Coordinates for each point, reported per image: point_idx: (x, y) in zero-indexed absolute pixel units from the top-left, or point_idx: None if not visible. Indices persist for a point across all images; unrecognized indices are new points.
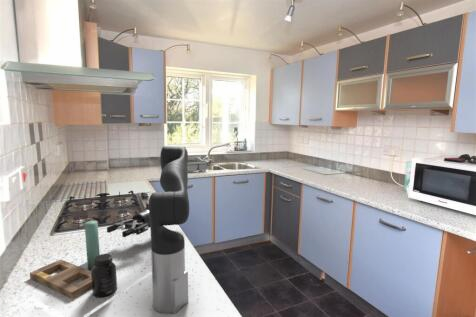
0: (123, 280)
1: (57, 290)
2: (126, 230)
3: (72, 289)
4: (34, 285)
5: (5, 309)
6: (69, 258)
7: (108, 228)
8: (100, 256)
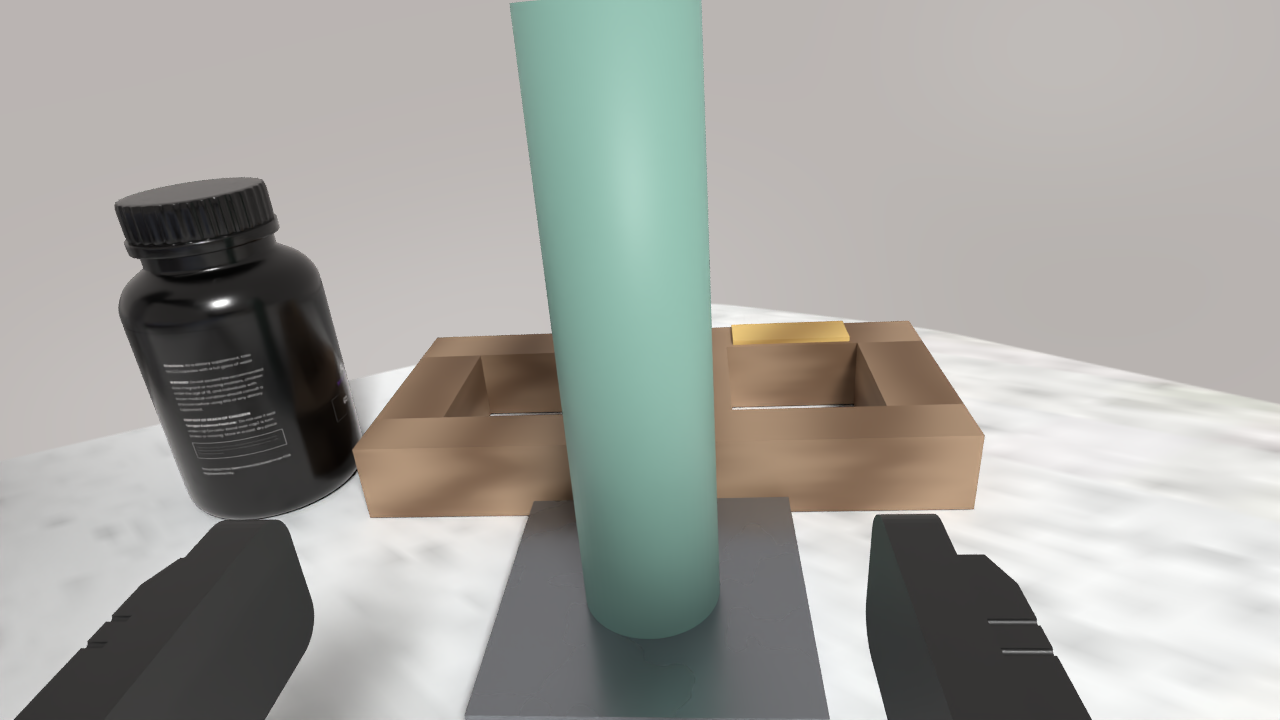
0: None
1: None
2: (173, 583)
3: (457, 345)
4: None
5: (713, 304)
6: (1162, 620)
7: (878, 535)
8: (221, 188)
